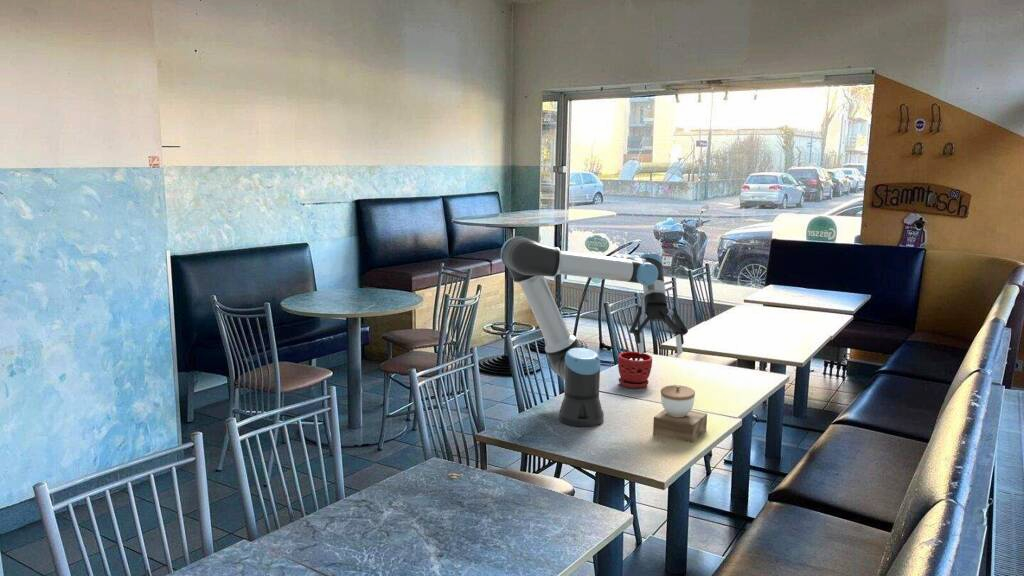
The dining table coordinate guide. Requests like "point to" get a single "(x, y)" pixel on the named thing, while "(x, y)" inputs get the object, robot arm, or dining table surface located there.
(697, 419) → the walnut block
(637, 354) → the plant pot
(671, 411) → the lidded jar
